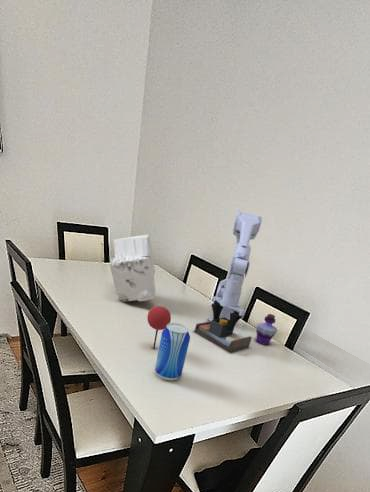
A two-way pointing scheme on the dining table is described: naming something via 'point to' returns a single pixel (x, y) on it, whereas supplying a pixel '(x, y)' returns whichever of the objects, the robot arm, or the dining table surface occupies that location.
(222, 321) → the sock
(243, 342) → the bed
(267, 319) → the potion bottle
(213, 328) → the bin
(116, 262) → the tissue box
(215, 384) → the dining table surface
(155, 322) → the lollipop
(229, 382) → the dining table surface
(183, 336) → the beer can
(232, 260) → the robot arm
